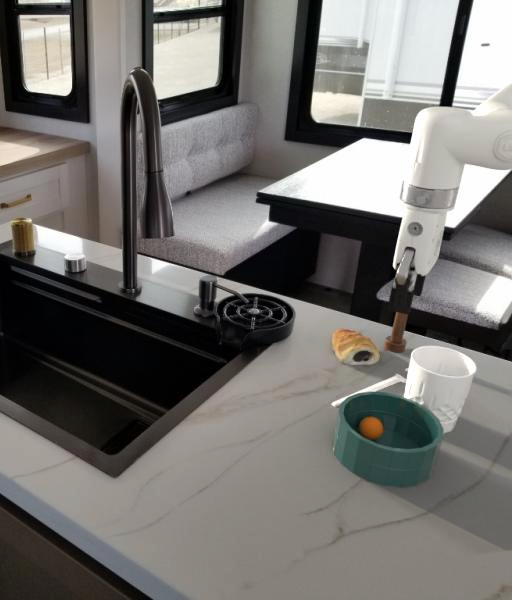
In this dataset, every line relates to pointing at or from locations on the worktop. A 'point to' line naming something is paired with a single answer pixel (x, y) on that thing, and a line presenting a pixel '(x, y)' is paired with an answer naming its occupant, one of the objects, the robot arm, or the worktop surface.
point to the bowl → (388, 439)
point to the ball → (371, 428)
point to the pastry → (354, 348)
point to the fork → (376, 386)
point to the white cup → (440, 382)
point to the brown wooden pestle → (397, 332)
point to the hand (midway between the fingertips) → (404, 301)
